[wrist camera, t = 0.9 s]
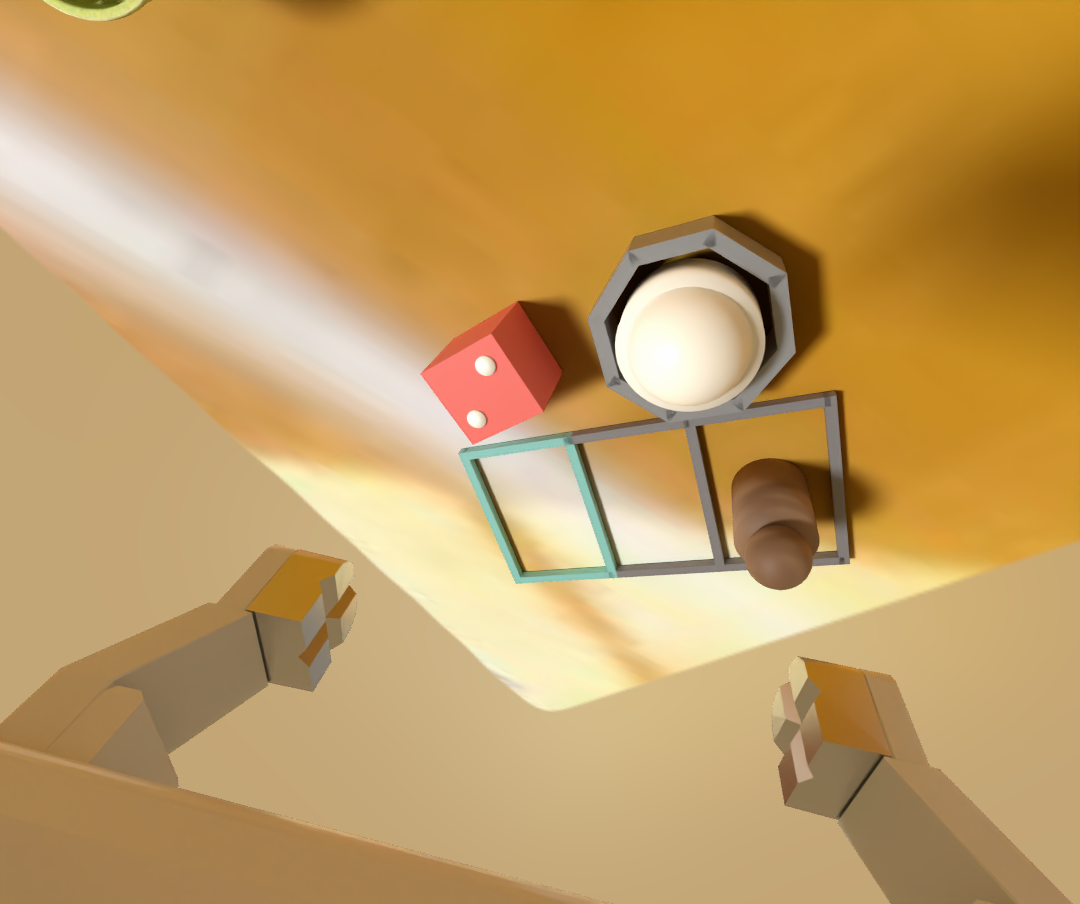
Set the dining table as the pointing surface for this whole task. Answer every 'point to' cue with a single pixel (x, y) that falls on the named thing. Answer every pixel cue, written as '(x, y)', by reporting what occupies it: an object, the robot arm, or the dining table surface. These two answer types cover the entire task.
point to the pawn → (774, 522)
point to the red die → (494, 374)
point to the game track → (657, 425)
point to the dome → (690, 335)
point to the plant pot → (98, 8)
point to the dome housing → (682, 242)
